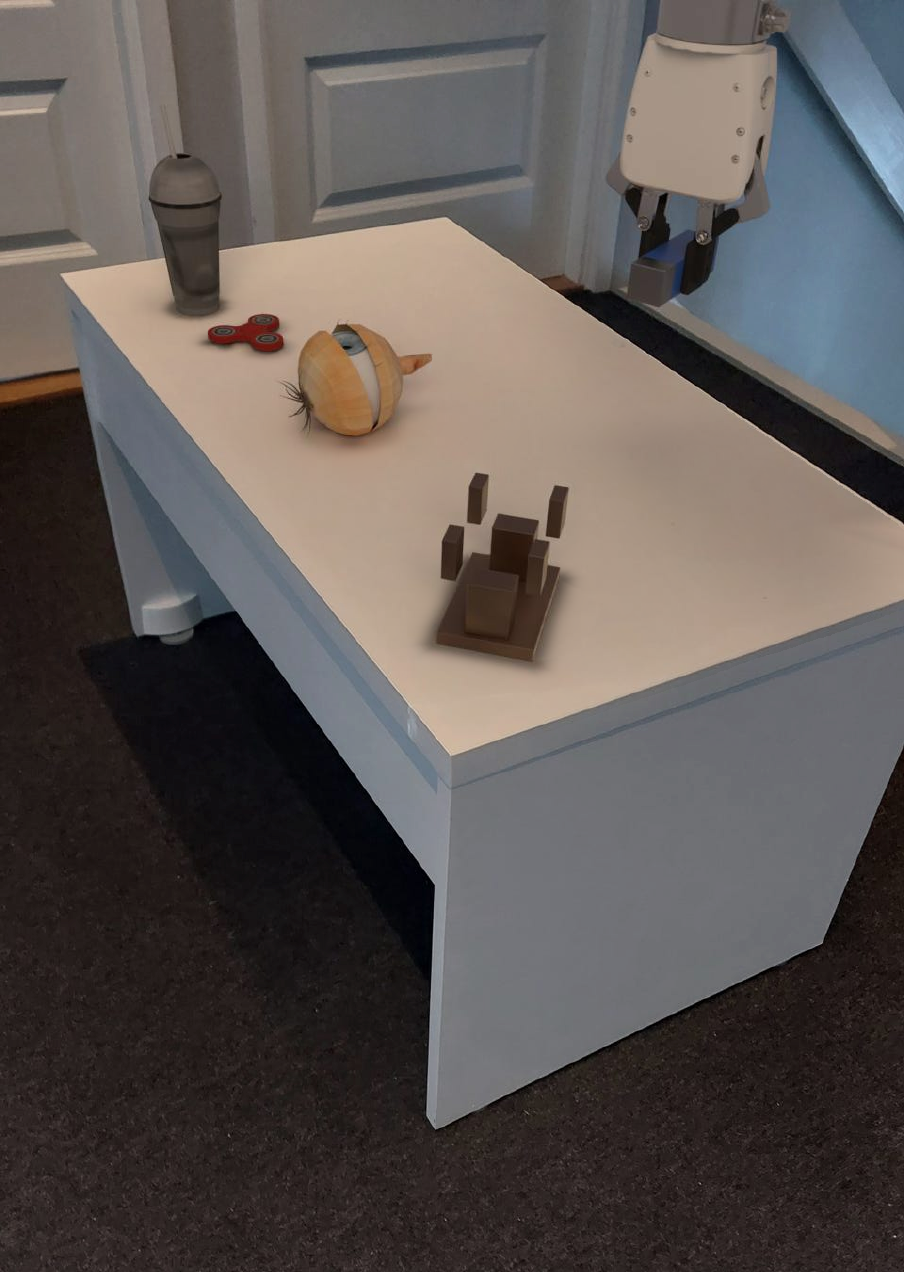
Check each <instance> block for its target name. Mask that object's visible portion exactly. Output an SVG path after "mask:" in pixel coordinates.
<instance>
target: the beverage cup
mask: <svg viewBox="0 0 904 1272" xmlns="http://www.w3.org/2000/svg"><path fill="white" fill-rule="evenodd" d="M159 109H160V113H161V117H162V122H163V126H164V130H165V135H166V138H167V143H168V148H169V152H170V154H169V155H166V156H165V157H164V158H162V159H161V160H160V161H159V162H158V163H157V164H156V165H155V167H154V168H153V170H152V173H151V176H150V179H149V180H150V181H149V184H148V185H149V187H148V193H149V194H148V201H149V202H150V207H151V210H152V214H153V217H154V219H155V221H156V224H157V228H158V232H159V237H160V238H159V239H160V242H161V247H162V250H163V255H164V260H165V265H166V268H167V273H168V274H167V275H168V278H169V282H170V284H169V285H170V289H171V292H172V296H173V298H174V302H175V307H176V310H177V312H178V313H180V314H182V315H185V316H192V317H194V316H195V317H200V316H207V315H210V314H214V313H215V312H217V311H218V310H219V309H220V293H221V289H220V287H221V286H220V285H221V283H220V281H221V279H220V229H219V227H220V226H219V225H220V224H219V220H220V215H221V200H222V199H223V198H222V195H223V194H222V192H221V190H220V185H219V182H218V179H217V177H216V175H215V173H214V171H213V170H212V168H211V167H210V166H209V165H208V164H207V162H205V161H204V160H202V158H200V157H198V156H196V155H195V154H191V153H187V152H177V150H176V147H175V143H174V139H173V138H174V137H173V135H172V130H171V125H170V122H169V117H168V113H167V108H166V105H165V104H162V105H161V104H160V105H159Z"/></svg>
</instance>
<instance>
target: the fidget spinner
mask: <svg viewBox="0 0 904 1272" xmlns="http://www.w3.org/2000/svg"><path fill="white" fill-rule="evenodd" d="M278 328H280V319H279V317H278V316H277V315H274V314H270V313H258V314H253V315H251V316H249V318H247V322H245V323H243V324H242V325H231V324H230V325H229V324H220V325H214V326H212V327H210V328H209V329H208V330H207V338H208V340H209V341H210V342H212V343H215V344H229V343H234V342H245V343H249V344H250V345H251V347H252V348H253V349H255V350H258V351H263V352H270V351H276V350H280V349H281V348H283V346H284V343H285V341H284V337H283V336H282V334H279V333H276V332H272V331H274V330H276V329H278Z"/></svg>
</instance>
